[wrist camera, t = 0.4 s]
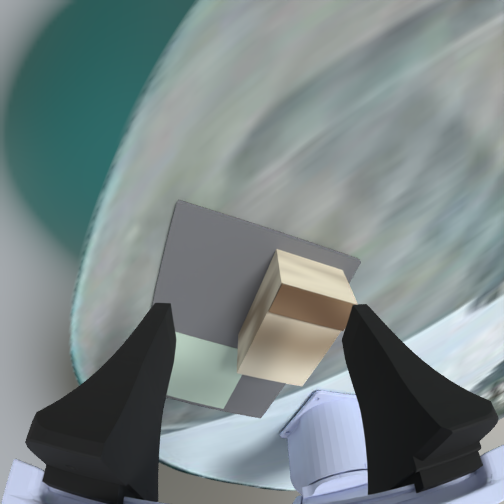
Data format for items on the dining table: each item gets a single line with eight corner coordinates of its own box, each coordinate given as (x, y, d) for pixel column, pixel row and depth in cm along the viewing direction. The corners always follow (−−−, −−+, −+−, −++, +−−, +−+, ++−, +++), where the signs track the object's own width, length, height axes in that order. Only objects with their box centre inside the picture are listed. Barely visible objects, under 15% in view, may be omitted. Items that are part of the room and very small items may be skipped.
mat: (260, 414, 31) (260, 418, 31) (138, 385, 29) (137, 389, 28) (359, 258, 22) (361, 262, 22) (178, 199, 20) (176, 202, 20)
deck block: (296, 348, 26) (302, 388, 22) (238, 334, 25) (236, 375, 21) (342, 270, 22) (358, 306, 18) (276, 248, 21) (281, 284, 17)
